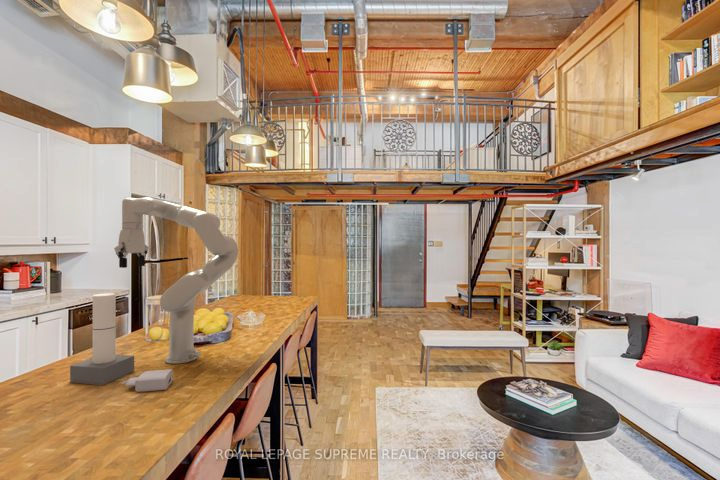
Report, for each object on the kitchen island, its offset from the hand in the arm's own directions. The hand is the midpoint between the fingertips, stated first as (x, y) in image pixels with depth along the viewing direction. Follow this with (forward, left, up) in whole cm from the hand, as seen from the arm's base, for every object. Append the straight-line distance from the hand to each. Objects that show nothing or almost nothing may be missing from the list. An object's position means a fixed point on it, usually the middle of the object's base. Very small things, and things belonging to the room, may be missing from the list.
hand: (132, 266), depth 155 cm
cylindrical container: (-4, +18, -34) cm, 39 cm away
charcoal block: (-4, +18, -40) cm, 44 cm away
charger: (-27, +24, -41) cm, 55 cm away
